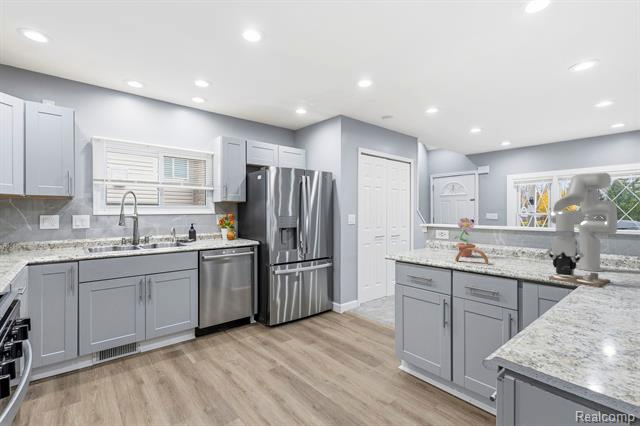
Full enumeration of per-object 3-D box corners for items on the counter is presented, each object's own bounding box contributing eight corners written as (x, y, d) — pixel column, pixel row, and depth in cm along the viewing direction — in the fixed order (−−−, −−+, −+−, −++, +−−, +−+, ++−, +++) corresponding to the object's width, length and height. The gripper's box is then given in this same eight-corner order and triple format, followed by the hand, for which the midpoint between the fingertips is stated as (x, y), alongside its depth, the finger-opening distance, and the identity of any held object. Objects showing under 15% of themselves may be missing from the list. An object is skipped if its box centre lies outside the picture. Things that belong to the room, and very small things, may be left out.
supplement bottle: (566, 276, 155) (566, 252, 154) (552, 273, 161) (552, 250, 161) (575, 275, 156) (576, 252, 156) (562, 272, 163) (562, 250, 163)
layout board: (562, 274, 171) (562, 267, 171) (610, 281, 154) (610, 273, 154) (548, 279, 160) (549, 271, 160) (598, 287, 144) (599, 278, 144)
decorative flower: (455, 257, 231) (455, 218, 231) (453, 254, 244) (453, 217, 244) (477, 258, 227) (477, 218, 226) (473, 255, 240) (473, 217, 239)
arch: (486, 265, 200) (487, 250, 200) (455, 261, 213) (455, 247, 212) (488, 263, 204) (488, 249, 204) (457, 260, 217) (457, 246, 217)
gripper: (588, 235, 153) (587, 270, 154) (547, 232, 168) (547, 264, 168) (583, 236, 149) (583, 272, 150) (542, 233, 164) (542, 266, 164)
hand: (564, 267), depth 159 cm, fingers closed on supplement bottle, 6 cm apart
